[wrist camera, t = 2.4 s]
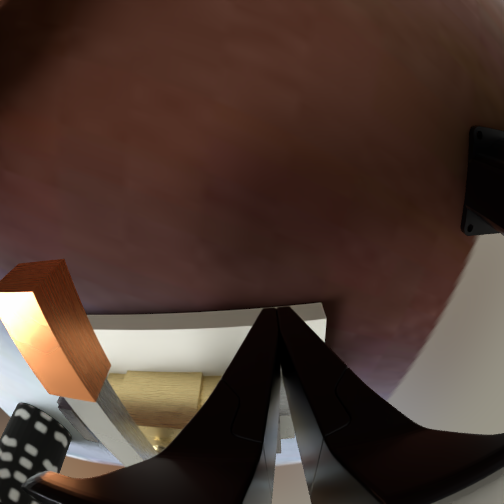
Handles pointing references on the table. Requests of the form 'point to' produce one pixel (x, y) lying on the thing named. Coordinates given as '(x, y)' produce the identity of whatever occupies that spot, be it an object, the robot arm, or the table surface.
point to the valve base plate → (184, 338)
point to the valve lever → (68, 353)
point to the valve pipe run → (167, 404)
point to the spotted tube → (29, 451)
